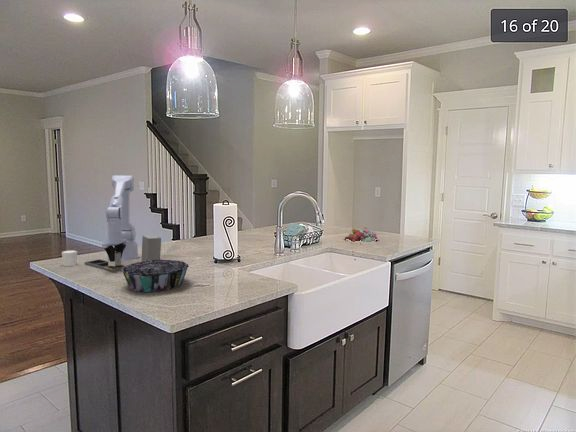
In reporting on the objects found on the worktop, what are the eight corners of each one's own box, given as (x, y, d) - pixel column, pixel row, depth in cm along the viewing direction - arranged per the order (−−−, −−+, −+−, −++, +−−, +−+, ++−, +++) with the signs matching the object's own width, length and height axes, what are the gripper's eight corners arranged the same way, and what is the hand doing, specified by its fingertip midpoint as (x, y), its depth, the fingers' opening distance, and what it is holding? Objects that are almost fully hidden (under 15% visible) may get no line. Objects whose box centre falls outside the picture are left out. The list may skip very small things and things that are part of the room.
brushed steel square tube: (114, 263, 203) (113, 251, 202) (121, 264, 202) (120, 252, 201) (108, 265, 199) (107, 253, 199) (115, 266, 198) (114, 253, 197)
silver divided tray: (99, 262, 215) (99, 259, 214) (128, 269, 202) (128, 266, 202) (84, 265, 208) (84, 261, 208) (113, 273, 195) (113, 269, 195)
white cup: (60, 267, 202) (59, 253, 201) (63, 264, 209) (63, 250, 208) (76, 267, 204) (75, 252, 203) (79, 263, 210) (78, 249, 210)
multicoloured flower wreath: (339, 238, 304) (339, 226, 303) (368, 237, 311) (369, 225, 310) (354, 245, 280) (355, 231, 279) (386, 244, 287) (387, 230, 286)
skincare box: (140, 267, 207) (140, 235, 205) (154, 265, 212) (154, 234, 210) (147, 270, 201) (147, 237, 199) (161, 268, 205) (161, 236, 203)
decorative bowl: (200, 289, 180) (201, 266, 179) (140, 299, 159) (142, 273, 159) (166, 277, 197) (167, 256, 196) (108, 285, 176) (109, 261, 175)
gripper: (118, 229, 207) (119, 256, 208) (96, 233, 193) (97, 262, 195) (130, 230, 204) (131, 257, 206) (108, 234, 191) (109, 264, 192)
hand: (115, 260), depth 200 cm, fingers closed on brushed steel square tube, 4 cm apart
